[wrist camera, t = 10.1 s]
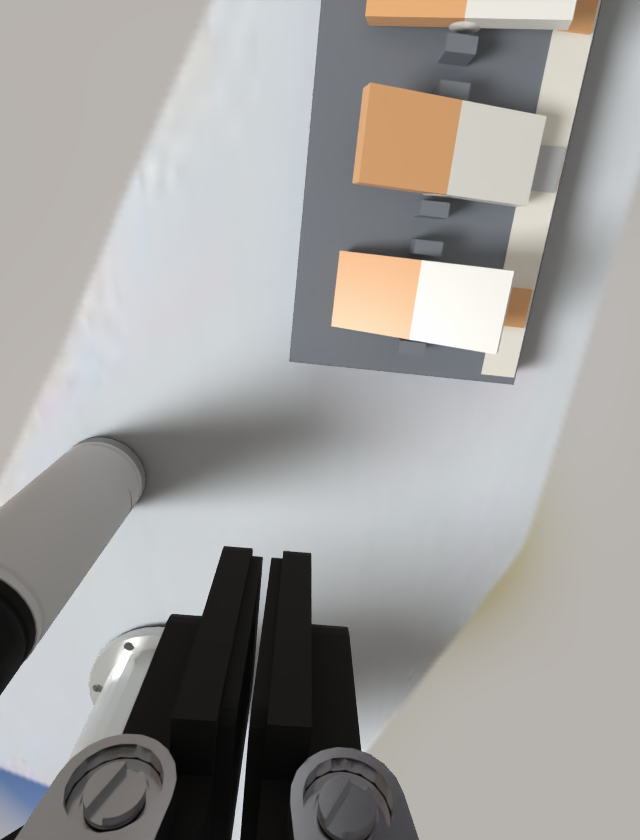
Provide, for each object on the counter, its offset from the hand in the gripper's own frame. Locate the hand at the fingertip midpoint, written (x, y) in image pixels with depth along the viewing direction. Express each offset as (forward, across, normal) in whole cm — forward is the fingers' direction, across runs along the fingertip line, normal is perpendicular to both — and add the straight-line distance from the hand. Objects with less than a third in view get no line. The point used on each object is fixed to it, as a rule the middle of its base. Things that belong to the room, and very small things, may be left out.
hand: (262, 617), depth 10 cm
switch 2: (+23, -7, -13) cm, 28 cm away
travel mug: (+30, +14, +10) cm, 34 cm away
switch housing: (+28, -7, -13) cm, 32 cm away
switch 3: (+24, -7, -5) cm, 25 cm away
